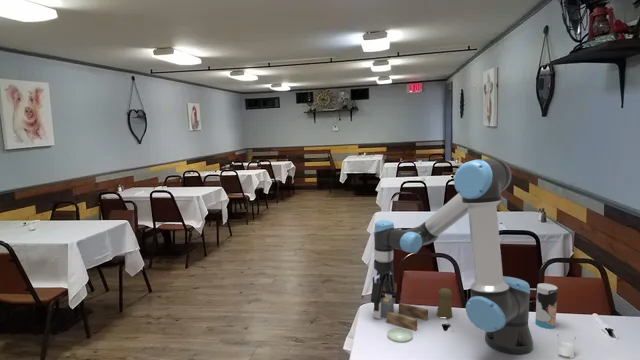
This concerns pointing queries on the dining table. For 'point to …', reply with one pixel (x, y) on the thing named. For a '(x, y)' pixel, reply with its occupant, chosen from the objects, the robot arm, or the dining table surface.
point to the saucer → (400, 335)
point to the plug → (386, 307)
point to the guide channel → (407, 321)
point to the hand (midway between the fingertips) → (382, 313)
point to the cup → (546, 305)
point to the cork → (444, 303)
